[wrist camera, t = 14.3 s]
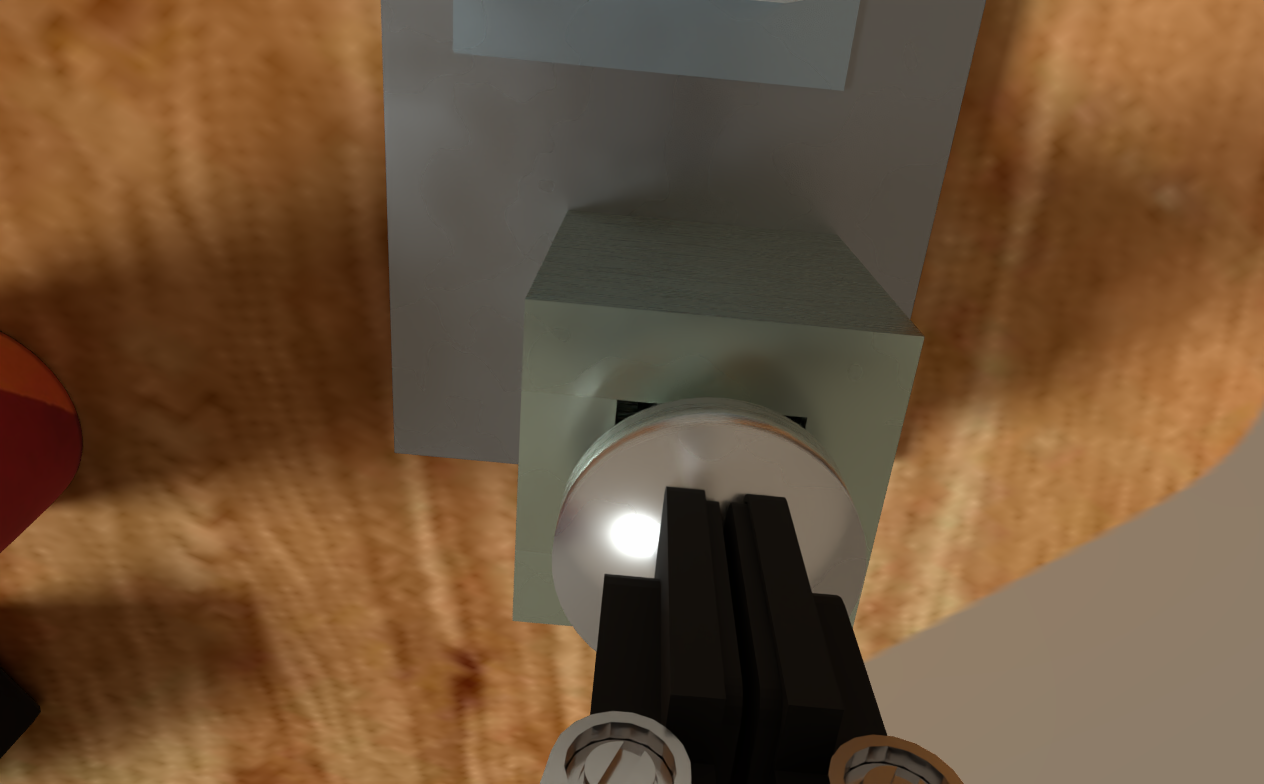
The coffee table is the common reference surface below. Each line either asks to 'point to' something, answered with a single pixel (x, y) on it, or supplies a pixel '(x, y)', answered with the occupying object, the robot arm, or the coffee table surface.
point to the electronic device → (14, 712)
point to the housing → (780, 1)
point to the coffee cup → (32, 439)
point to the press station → (659, 225)
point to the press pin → (727, 470)
